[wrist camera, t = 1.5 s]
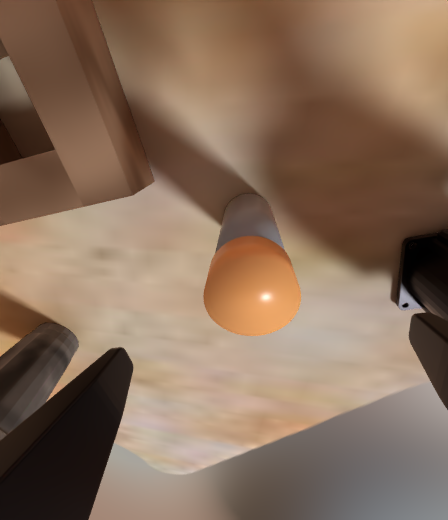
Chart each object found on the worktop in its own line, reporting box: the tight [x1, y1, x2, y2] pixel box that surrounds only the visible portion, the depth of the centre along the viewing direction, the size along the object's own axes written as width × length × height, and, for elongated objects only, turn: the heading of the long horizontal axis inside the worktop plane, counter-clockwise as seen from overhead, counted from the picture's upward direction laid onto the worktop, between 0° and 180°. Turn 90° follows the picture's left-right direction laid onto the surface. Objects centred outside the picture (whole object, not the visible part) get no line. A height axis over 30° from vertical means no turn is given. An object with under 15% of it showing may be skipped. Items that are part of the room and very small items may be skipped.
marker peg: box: [204, 194, 301, 336], centre depth 14 cm, size 4×4×10 cm
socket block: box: [0, 0, 155, 226], centre depth 14 cm, size 12×12×4 cm
